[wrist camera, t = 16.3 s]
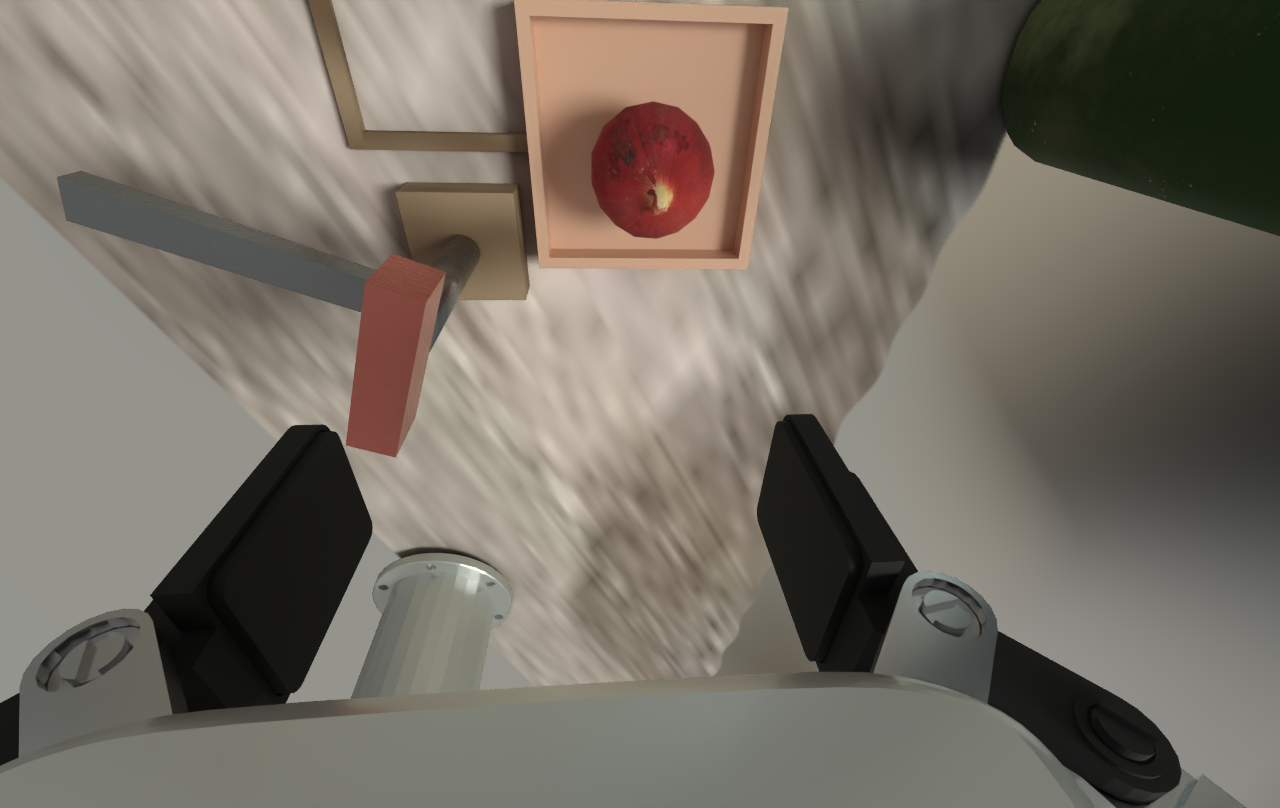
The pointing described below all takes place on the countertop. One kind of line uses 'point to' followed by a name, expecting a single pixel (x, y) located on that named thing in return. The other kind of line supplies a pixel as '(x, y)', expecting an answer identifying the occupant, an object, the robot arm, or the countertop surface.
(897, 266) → the countertop surface
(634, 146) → the onion
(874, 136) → the countertop surface
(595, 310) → the countertop surface
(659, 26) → the dish
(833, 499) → the robot arm
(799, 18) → the countertop surface
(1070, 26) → the green bottle
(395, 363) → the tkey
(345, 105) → the tan frame with plate
